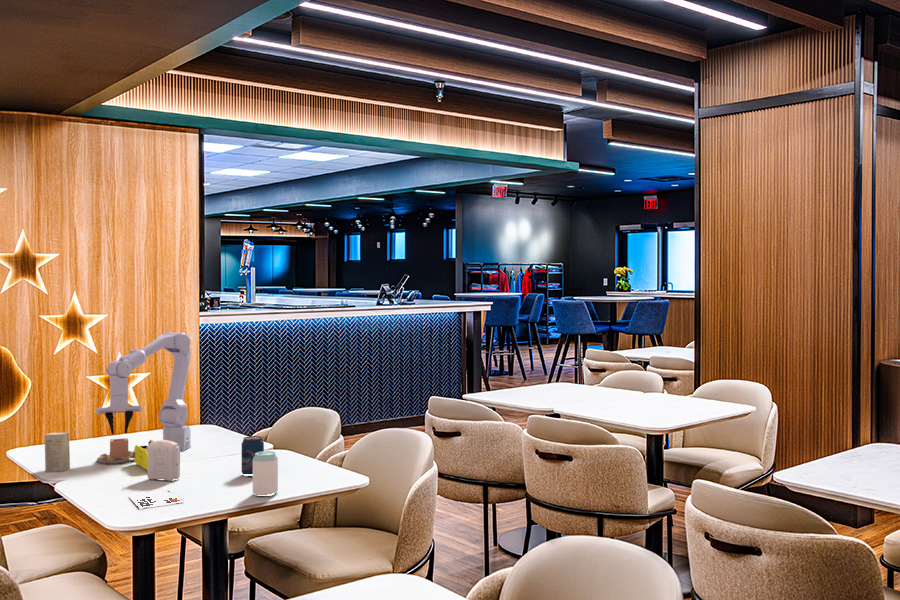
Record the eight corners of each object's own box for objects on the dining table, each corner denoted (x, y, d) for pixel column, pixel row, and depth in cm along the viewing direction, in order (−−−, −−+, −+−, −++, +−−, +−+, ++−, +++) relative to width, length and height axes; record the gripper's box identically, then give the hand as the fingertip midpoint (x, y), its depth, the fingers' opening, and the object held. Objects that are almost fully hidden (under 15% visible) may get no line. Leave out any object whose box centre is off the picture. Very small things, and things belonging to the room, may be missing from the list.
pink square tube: (127, 454, 267) (127, 438, 267) (128, 457, 262) (128, 440, 262) (110, 456, 265) (109, 439, 265) (110, 459, 260) (110, 442, 260)
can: (254, 498, 211) (254, 456, 211) (250, 492, 218) (250, 451, 218) (279, 496, 214) (279, 454, 214) (275, 490, 220) (275, 449, 220)
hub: (147, 456, 270) (147, 443, 270) (129, 464, 256) (129, 451, 256) (109, 455, 271) (109, 443, 271) (89, 464, 257) (89, 451, 257)
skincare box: (70, 468, 250) (70, 432, 250) (62, 471, 245) (62, 434, 245) (52, 468, 250) (52, 431, 250) (44, 471, 246) (44, 434, 246)
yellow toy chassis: (164, 470, 247) (164, 445, 247) (146, 473, 244) (146, 447, 244) (150, 462, 260) (150, 438, 260) (133, 464, 256) (133, 440, 256)
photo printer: (182, 479, 235) (182, 439, 235) (173, 482, 231) (173, 442, 231) (154, 477, 238) (154, 438, 238) (145, 480, 234) (145, 440, 234)
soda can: (237, 476, 238) (237, 438, 238) (250, 471, 245) (250, 435, 245) (255, 478, 236) (255, 440, 236) (268, 473, 242) (268, 436, 242)
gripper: (96, 397, 256) (96, 436, 256) (142, 394, 263) (142, 433, 263) (95, 395, 263) (95, 433, 263) (140, 392, 269) (140, 430, 269)
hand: (119, 433), depth 263 cm, fingers open, 4 cm apart
